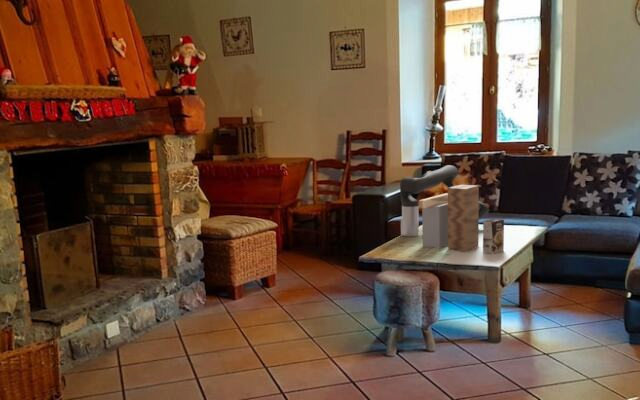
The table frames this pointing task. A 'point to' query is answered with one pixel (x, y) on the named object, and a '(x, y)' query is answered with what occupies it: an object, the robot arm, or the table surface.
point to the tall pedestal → (463, 217)
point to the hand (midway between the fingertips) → (456, 190)
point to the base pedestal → (435, 226)
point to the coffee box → (493, 236)
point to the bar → (433, 201)
